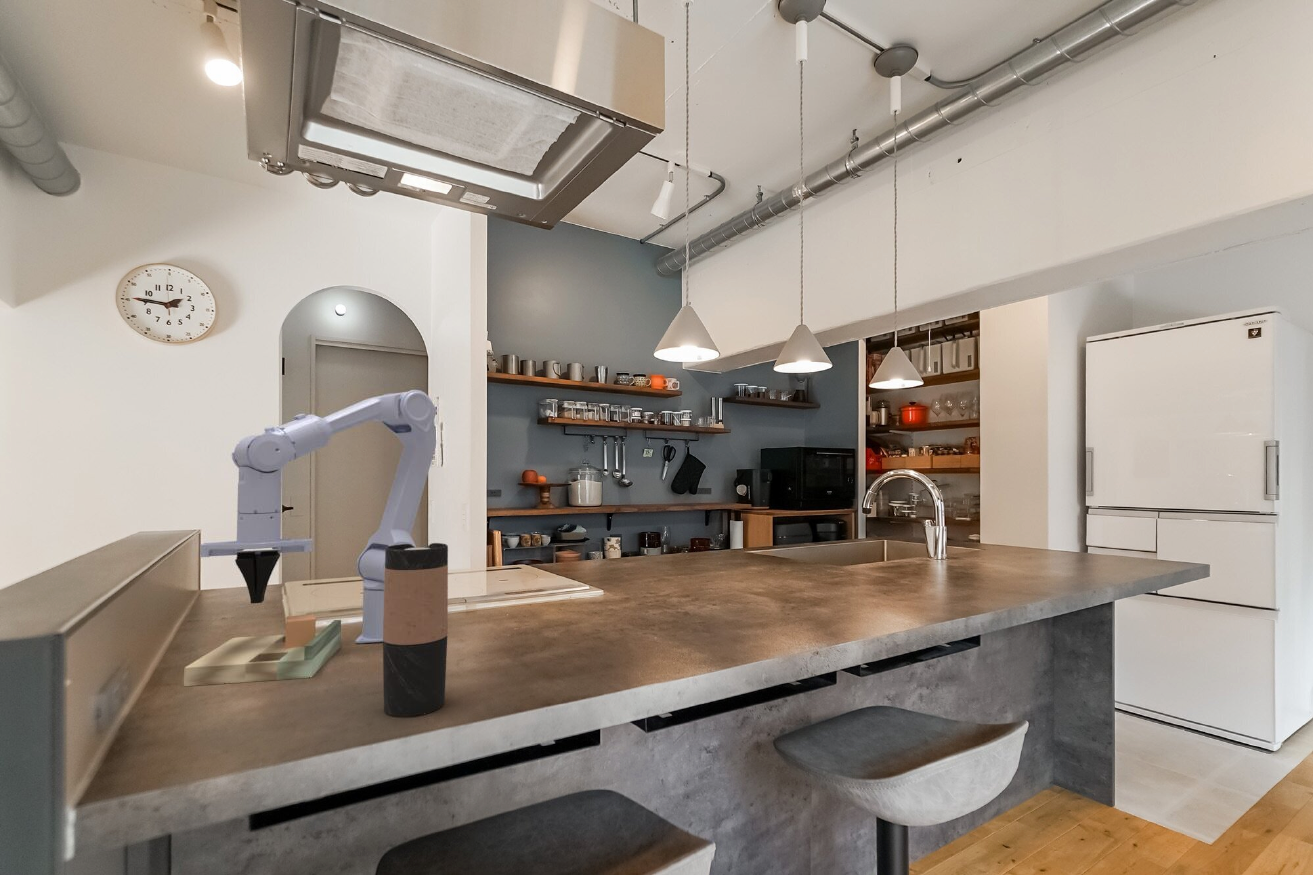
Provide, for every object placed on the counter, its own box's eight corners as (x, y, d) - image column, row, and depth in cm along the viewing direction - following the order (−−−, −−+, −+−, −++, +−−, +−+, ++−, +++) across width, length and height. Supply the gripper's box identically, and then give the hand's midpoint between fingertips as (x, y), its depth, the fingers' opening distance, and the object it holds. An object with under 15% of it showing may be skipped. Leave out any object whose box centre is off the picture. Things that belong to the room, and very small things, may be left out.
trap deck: (340, 646, 106) (341, 619, 107) (311, 677, 91) (312, 645, 91) (233, 653, 103) (234, 625, 103) (183, 686, 87) (184, 653, 87)
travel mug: (407, 723, 75) (410, 551, 76) (368, 710, 79) (371, 547, 80) (459, 702, 81) (461, 544, 82) (420, 691, 85) (422, 541, 86)
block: (314, 639, 102) (315, 613, 102) (315, 645, 98) (315, 618, 99) (286, 642, 100) (286, 616, 100) (285, 648, 97) (285, 622, 97)
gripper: (315, 509, 104) (314, 593, 103) (210, 512, 98) (208, 600, 98) (310, 512, 97) (308, 601, 97) (197, 515, 92) (194, 610, 91)
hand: (257, 602), depth 97 cm, fingers closed
